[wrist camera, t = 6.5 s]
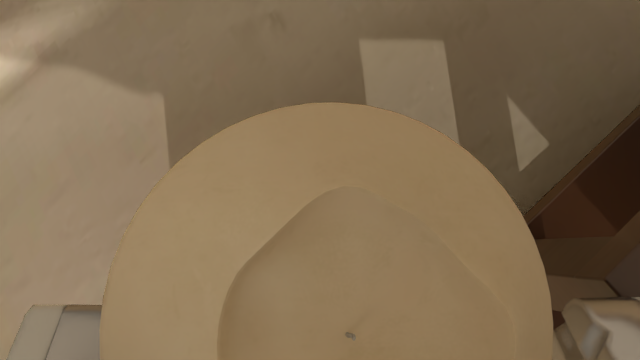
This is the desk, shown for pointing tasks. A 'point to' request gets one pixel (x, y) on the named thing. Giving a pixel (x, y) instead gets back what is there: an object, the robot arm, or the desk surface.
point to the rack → (593, 223)
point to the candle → (327, 249)
